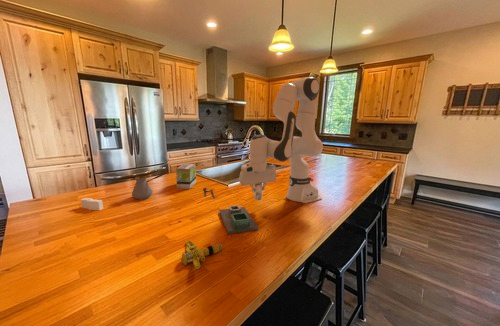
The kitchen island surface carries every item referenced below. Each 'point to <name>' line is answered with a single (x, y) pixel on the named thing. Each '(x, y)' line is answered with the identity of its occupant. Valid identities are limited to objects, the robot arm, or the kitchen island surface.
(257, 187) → the fitting
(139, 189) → the coffee pot
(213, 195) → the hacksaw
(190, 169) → the tea box
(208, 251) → the sprinkler
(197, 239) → the kitchen island surface
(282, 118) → the robot arm
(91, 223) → the kitchen island surface
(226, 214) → the manifold plate
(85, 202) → the white rectangular block
